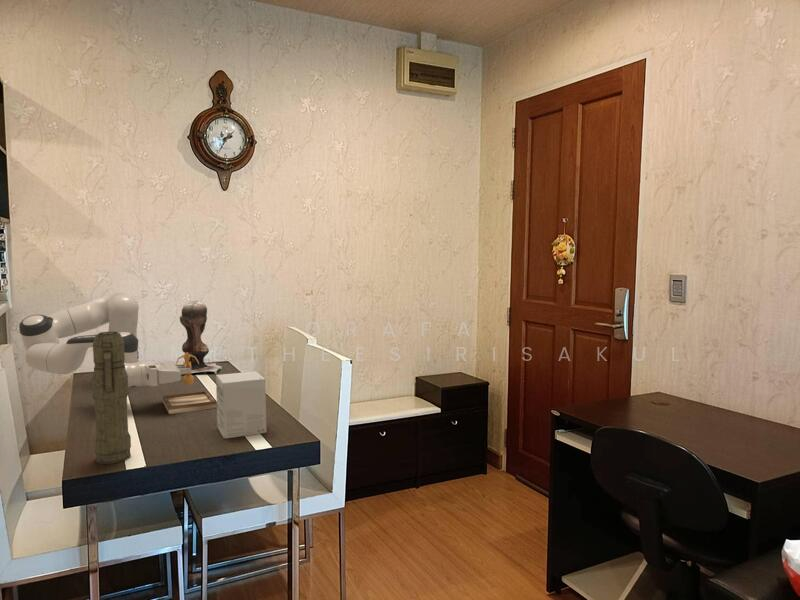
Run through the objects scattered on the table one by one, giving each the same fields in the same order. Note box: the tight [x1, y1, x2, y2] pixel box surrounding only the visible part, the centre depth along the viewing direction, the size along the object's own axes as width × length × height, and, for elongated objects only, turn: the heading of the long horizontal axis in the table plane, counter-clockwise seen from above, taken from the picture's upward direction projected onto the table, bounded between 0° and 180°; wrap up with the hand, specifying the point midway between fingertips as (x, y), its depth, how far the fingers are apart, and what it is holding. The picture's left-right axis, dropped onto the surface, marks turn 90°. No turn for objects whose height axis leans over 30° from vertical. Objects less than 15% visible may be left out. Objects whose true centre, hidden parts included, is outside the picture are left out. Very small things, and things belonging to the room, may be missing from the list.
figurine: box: [175, 352, 199, 386], centre depth 210 cm, size 8×6×12 cm
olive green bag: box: [91, 331, 132, 465], centre depth 156 cm, size 9×12×35 cm
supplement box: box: [215, 370, 268, 439], centre depth 181 cm, size 13×13×18 cm
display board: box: [162, 390, 217, 415], centre depth 211 cm, size 18×16×2 cm
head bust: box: [179, 300, 223, 375], centre depth 271 cm, size 22×25×35 cm
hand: (190, 369), depth 210 cm, fingers closed on figurine
